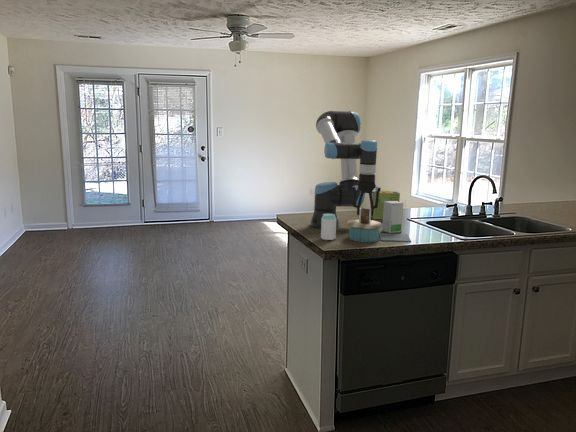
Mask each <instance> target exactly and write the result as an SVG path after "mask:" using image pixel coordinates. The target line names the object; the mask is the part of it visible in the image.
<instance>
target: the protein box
mask: <svg viewBox="0 0 576 432" xmlns="http://www.w3.org/2000/svg"><path fill="white" fill-rule="evenodd" d="M371 193H372V200H373V206H374V205H375V199H376V190H373V191H372V192H371ZM400 197H401V193H400V192H398V191H396V190H380V192H379V199H378V208H375V209H374V211H373V216H371V219H372V220H373V219H374V220H383V211H384V201H398V202H400V199H401V198H400ZM370 209H371V207H370Z"/></svg>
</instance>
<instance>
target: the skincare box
mask: <svg viewBox="0 0 576 432" xmlns="http://www.w3.org/2000/svg"><path fill="white" fill-rule="evenodd" d="M403 215H404V202H402V201H399V202H398V201H384V211H383V219H382V224H381V229H382V230H381V231H382V232H385V233H389V234H397V233H402V229H403Z"/></svg>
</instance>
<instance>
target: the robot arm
mask: <svg viewBox="0 0 576 432" xmlns="http://www.w3.org/2000/svg"><path fill="white" fill-rule="evenodd" d="M361 125H362V124H361V118H360V115H359V113H357V112H356V111H351V110H349V111H346V110H345V111H344V110H343V111H341V110H337V111H336V110H327V111H325V112H323V113H321V114H320V115H319V117H318V118H317V119H316V122H315V128H316V131H317V132H318V133H319V134H320V135H321V137H322V139H323V141H324V144H325V145H324V151H323V153H324V157H325V158H326V159H331V160H336V159H339V160H340V169H341V170H340V171H341V172H340V173H341V180H340V181H339V182H338V183H339V184H338V183H337V182H336V181H327V182H319V183H317V184H316V185H315V186H314V187H315V188H314V206H313V214H312V217H311V219H310V226H311V227H313V228H316V229H321V218H322V216H323V214H335V217H336V229H337V228H339V225H340V223H339V218H338V215H337V207H341V208H343V207H348V208H349V207H351V208H355V209H356V216H358V220H359V222H361V208H362V207H361V206H362V205H363V204H364V200H365V197H366V194H368V197H369V203H370V208H371V209H370V208H369V207H368V208H369V223H370V222H371V219H372V217H371V216H373V211H374V209H375V208H378V199H379V192H380V191H382V190H381V189H382V188H381V186H377V185H376V171H377V170H376V169H377V155H378V153H377V152H378V141H377V140H373V139H372V140H371V139H370V140H369V139H363V140H362V139H361V141H360V142H358V143H357V142H356V137H357V136H358V134H359V133H360V131H361ZM357 160H359V168H358V162H357ZM358 170H359V174H358ZM372 191H376V199H375V205H374V206H373V200H372V193H371V192H372Z"/></svg>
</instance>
